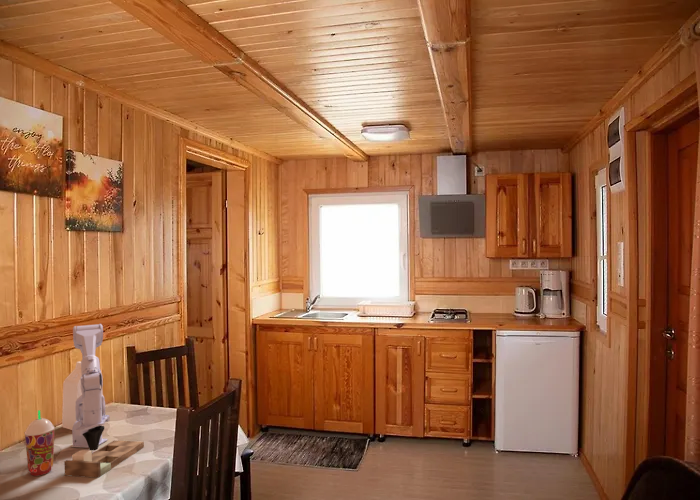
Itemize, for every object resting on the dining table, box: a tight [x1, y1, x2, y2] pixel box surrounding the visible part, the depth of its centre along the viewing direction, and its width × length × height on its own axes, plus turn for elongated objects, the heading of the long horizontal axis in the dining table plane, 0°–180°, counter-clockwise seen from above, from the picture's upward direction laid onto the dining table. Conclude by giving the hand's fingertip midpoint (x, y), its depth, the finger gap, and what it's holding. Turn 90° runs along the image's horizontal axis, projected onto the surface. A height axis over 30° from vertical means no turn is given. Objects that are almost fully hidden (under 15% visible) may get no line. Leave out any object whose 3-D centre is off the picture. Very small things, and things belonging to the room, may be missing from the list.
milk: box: [61, 360, 107, 431], centre depth 209 cm, size 12×12×26 cm
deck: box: [63, 440, 145, 478], centre depth 171 cm, size 12×24×4 cm, turn 170°
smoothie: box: [23, 409, 56, 477], centre depth 164 cm, size 8×8×20 cm
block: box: [71, 449, 93, 461], centre depth 163 cm, size 4×4×4 cm
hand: (93, 449), depth 169 cm, fingers closed
